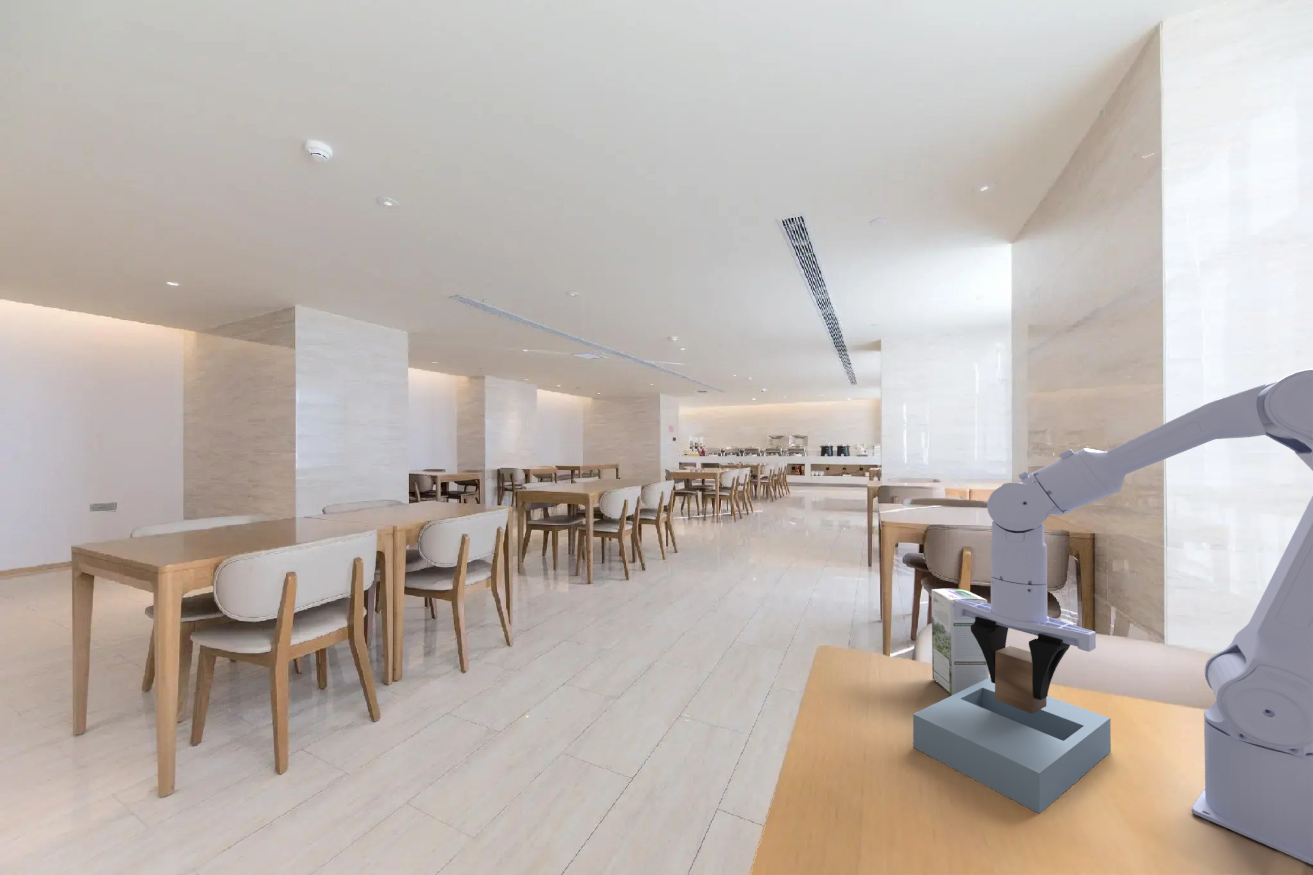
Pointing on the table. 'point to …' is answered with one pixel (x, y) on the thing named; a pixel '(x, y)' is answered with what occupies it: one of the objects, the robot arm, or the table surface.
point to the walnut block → (1016, 679)
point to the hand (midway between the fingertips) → (1018, 689)
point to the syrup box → (955, 643)
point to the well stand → (1013, 743)
